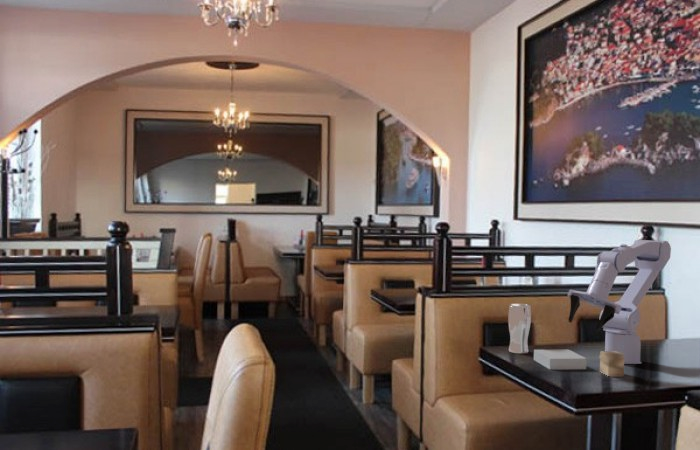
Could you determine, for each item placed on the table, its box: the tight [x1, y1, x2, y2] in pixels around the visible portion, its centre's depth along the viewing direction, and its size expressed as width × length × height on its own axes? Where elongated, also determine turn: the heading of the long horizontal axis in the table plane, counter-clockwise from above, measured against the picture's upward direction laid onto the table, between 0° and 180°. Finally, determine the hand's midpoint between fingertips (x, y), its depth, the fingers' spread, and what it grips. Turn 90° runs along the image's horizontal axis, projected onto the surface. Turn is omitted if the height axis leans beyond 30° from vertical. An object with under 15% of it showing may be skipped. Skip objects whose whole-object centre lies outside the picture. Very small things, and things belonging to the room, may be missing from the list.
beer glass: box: [507, 302, 532, 355], centre depth 194 cm, size 7×7×15 cm
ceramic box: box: [533, 349, 588, 370], centre depth 179 cm, size 11×11×4 cm
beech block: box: [599, 350, 625, 378], centre depth 170 cm, size 4×4×6 cm
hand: (583, 325), depth 172 cm, fingers open, 7 cm apart
